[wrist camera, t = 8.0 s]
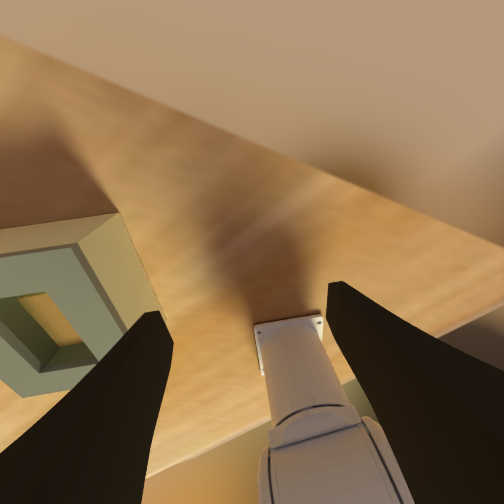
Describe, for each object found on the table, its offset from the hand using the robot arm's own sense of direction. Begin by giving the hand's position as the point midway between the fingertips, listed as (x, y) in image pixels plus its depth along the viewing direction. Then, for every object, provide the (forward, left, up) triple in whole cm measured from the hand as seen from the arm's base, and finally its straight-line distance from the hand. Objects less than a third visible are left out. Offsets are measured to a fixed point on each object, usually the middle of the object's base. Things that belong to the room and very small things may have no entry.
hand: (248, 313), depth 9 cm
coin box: (-4, +14, -10) cm, 18 cm away
